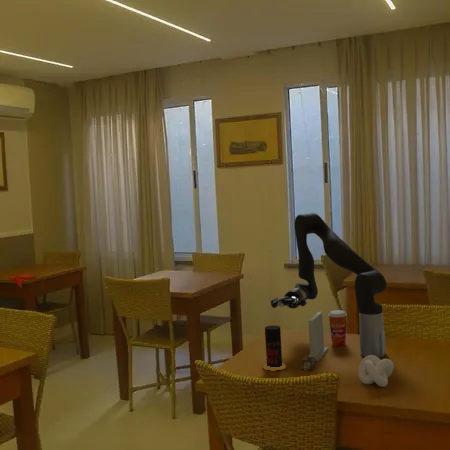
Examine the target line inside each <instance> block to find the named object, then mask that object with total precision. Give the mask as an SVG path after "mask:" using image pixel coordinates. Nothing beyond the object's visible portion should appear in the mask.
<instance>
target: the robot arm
mask: <svg viewBox="0 0 450 450" xmlns="http://www.w3.org/2000/svg"><path fill="white" fill-rule="evenodd" d="M294 233H295V241H296V246H297V247H296V248H297V252H298V253H297V255H298V256H297V257H298V277H299V279H301V280H303V281H306V282H307V283H306V282H298V283H296V284H295V286H294V288H292V289H290V290H289V291H288V292H287V291H286V293H285V294H284V296H283V297H281V298H279V297H275V298H272V299H271V300H270V305H271V307H272V308H273V309H276V308H278V307H281V308H283V307H288V308H289V309H294V310H295V309H296V308H298V307H300V306H301V307H305V306H306V305H307V304H308V303H307V301H308V300H315V299H316V298H317V297H318V293H319V291H318V286H317V283H316V277H315V260H314V256H313V253H312V252H311V250H310V248H309V246H308V243H307V242H308V241H307V239H308V238H307V237H308V235H311V234H314V235H316V236H318V238H319V239H320V240H321V241H322V247H323V250H324V253H325V255H326V256H327V257H328V258H329V259H330V260H331V261H332V262H333V264H335V265H337V266H338V267H340V268H342V269H345V270H347V271H350V272H352V273H353V274H355V275H356V277H355V281H354V292H355V302H356V306H357V309H358V322H359V324H358V325H359V347H360V348H359V350H360V355H361V356H362V357H363V358H365V357H366V356H368V355H375V356H377V357H378V358H384V356H385V355H386V340H385V339H386V337H385V335H386V334H385V333H386V331H385V329H384V316H383V315H384V314H383V312H384V311H383V309H384V308H383V305H382V304H381V303H379V302H376V301H375V295H378V294H382V293H383V292H385V291H386V289H387V280H386V278H385V276H384V275H383V274H382V273H381V272H380V271H379V270H377V268H375V267H374V266H372V265H371V264H370V263H368V261H365V260H364V259H363V258H362V257H361V256H360V255H359V254H357V252H356V251H355V250H353V249H352V248H351V247H350V246H349V245H348V244H347V243H346V242H345V241H344V240H343V239H341V238H340V237H339V236H338V235H337V234H336V233H335V232H334V230H333V229H331V228H330V226H329V225H328V224H327V223H326V222H325V220H323V218H322V217H321V216H320V215H319V214H318V213H316V212H308V213H302V214H301V213H300V214H297V215H296V217H295V218H294Z"/></svg>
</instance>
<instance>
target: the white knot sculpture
mask: <svg viewBox="0 0 450 450" xmlns="http://www.w3.org/2000/svg"><path fill="white" fill-rule="evenodd" d="M394 368H395V366H394V362H393V361H392V360H391V359H390V358H383V359H381V358H380V357H377V356H375V355H368V356H366V357H363V358H362V360H361V361H360V363H359V366H358V371H357V372H358V373H357V374H358V378H359V380H360V382H361V383H363V384H364V385H368V386H369V385H371V384H373V383H375V384H376V385H377V386H378V387H380V388H385V387H387V386H388V385H389V384H388V383H389V380H388V378H389V377H390V376H391V375H392V374H393V372H394Z"/></svg>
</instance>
